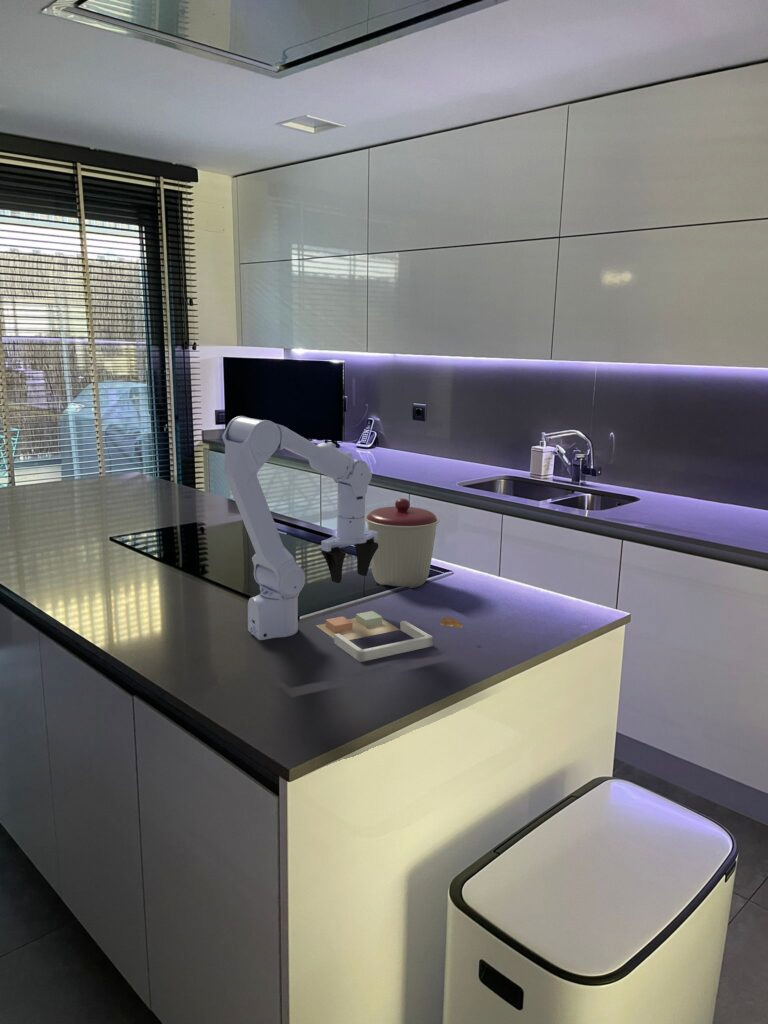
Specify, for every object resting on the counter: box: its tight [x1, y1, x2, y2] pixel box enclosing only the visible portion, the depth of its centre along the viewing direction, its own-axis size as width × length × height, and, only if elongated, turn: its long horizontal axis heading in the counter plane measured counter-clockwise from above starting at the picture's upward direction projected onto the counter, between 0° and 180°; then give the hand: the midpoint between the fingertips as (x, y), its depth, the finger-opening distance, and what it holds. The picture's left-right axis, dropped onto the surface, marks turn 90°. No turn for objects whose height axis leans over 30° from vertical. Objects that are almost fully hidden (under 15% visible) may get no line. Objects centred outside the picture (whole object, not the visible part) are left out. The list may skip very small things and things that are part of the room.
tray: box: [333, 619, 434, 663], centre depth 148 cm, size 16×10×3 cm, turn 121°
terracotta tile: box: [325, 615, 353, 633], centre depth 156 cm, size 4×4×2 cm
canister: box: [364, 498, 441, 589], centre depth 188 cm, size 18×18×21 cm
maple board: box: [315, 617, 401, 641], centre depth 157 cm, size 14×10×1 cm
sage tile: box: [355, 610, 383, 627], centre depth 160 cm, size 4×4×2 cm
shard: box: [439, 617, 464, 629], centre depth 164 cm, size 11×8×2 cm
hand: (349, 578), depth 164 cm, fingers open, 7 cm apart
